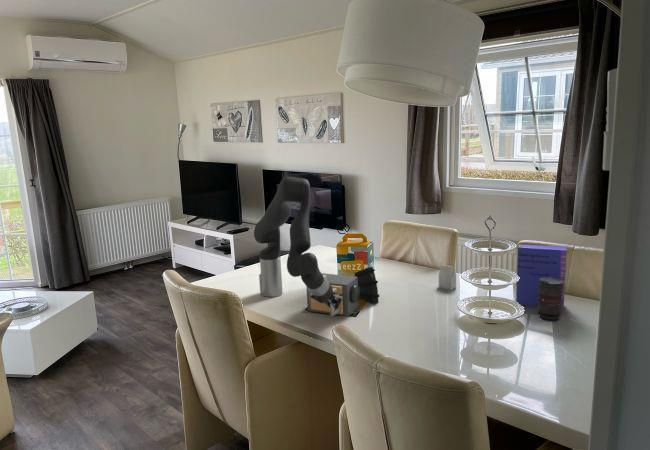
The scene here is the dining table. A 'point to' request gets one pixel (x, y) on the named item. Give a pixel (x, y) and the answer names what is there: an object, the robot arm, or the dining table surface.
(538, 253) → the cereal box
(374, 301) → the black ridged panel
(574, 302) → the dining table surface
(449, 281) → the light grey rectangular block
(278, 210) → the robot arm
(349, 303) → the grey hinged door box
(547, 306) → the camera lens
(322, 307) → the side door
